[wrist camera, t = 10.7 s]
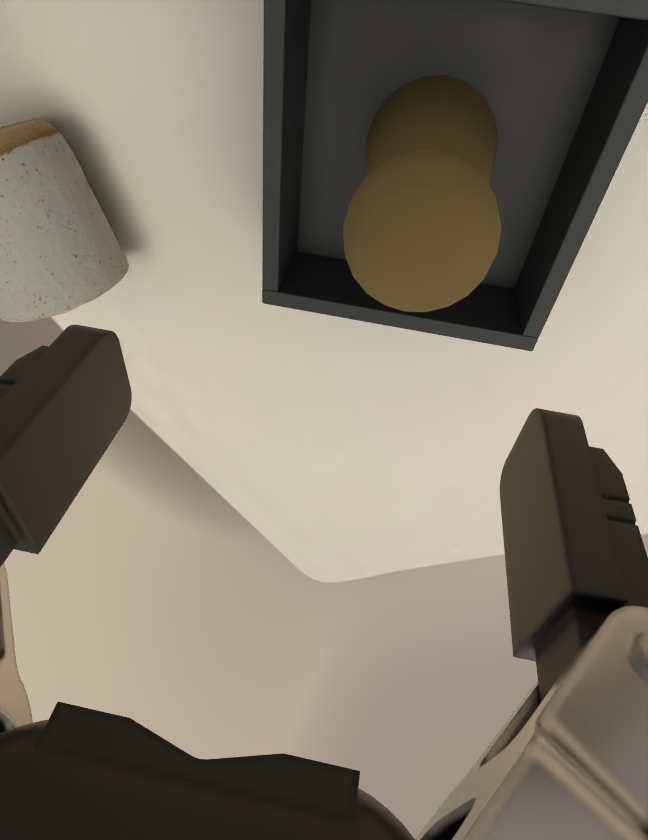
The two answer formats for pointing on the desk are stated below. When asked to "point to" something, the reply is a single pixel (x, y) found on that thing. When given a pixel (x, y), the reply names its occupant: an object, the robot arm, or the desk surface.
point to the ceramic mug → (50, 228)
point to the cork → (425, 197)
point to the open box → (515, 156)
